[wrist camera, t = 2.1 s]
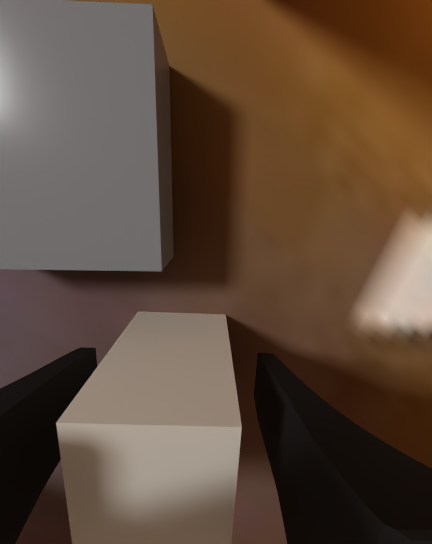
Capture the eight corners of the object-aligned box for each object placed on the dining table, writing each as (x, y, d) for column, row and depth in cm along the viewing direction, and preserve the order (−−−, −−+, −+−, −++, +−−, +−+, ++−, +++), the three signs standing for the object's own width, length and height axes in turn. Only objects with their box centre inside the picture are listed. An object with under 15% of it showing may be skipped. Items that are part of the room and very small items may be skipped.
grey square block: (174, 255, 11) (161, 271, 8) (13, 252, 11) (-62, 268, 8) (171, 71, 9) (152, 4, 6) (-22, 64, 9) (-135, -10, 6)
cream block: (220, 388, 12) (230, 553, 6) (140, 386, 12) (73, 552, 6) (225, 314, 11) (241, 427, 5) (138, 311, 11) (55, 423, 5)
